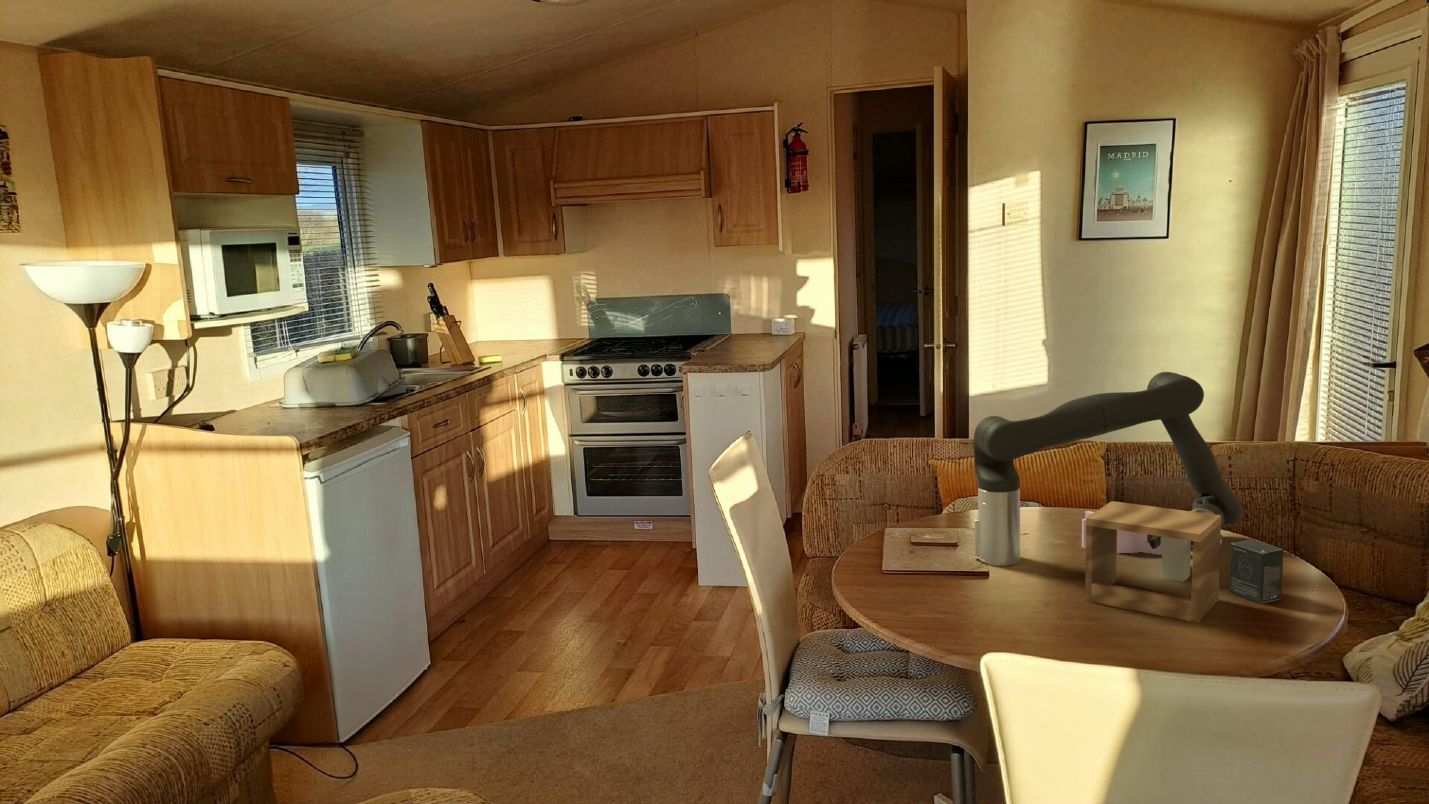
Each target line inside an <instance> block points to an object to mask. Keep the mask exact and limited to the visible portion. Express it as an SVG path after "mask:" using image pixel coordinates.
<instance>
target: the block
mask: <svg viewBox="0 0 1429 804" xmlns="http://www.w3.org/2000/svg"><path fill="white" fill-rule="evenodd" d="M1191 553H1192V549H1191V541H1189V540H1182V539H1176V538H1169V537H1162V555H1161V579H1164V578H1165V579H1164V580H1169V581H1175V582H1180V583H1184V582H1185V581H1186V580H1188V579H1189V578H1190V576H1191V558H1192V557H1191V555H1192V554H1191Z"/></svg>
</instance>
